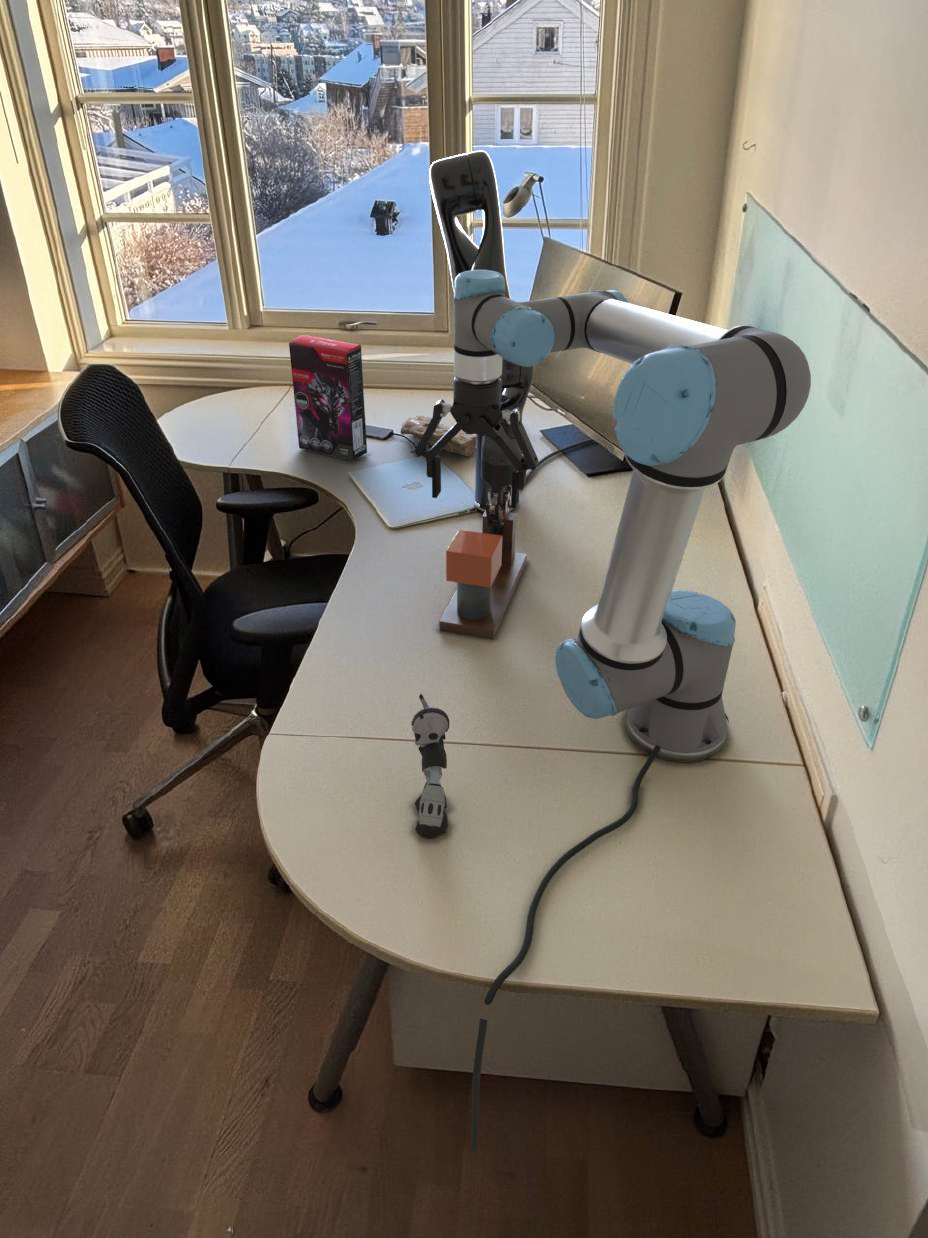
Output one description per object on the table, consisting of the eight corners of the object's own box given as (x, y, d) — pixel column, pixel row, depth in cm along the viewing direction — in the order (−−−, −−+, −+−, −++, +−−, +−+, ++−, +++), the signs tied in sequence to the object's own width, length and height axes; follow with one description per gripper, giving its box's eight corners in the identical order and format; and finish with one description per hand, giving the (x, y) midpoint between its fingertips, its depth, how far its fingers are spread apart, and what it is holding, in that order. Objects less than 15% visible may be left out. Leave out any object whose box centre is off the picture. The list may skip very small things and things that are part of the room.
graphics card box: (296, 449, 231) (285, 340, 216) (313, 439, 236) (303, 333, 221) (353, 463, 224) (346, 352, 209) (369, 453, 229) (363, 343, 214)
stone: (384, 439, 228) (389, 416, 226) (404, 431, 242) (409, 408, 239) (464, 464, 225) (469, 440, 222) (479, 454, 238) (485, 431, 236)
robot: (452, 871, 119) (452, 756, 108) (414, 872, 119) (410, 757, 108) (447, 767, 136) (446, 657, 124) (413, 768, 135) (410, 658, 124)
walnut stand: (493, 639, 163) (495, 581, 157) (439, 630, 165) (438, 573, 159) (526, 562, 186) (529, 508, 179) (478, 555, 188) (479, 502, 181)
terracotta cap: (490, 587, 159) (491, 557, 155) (446, 581, 160) (446, 551, 157) (501, 564, 165) (502, 535, 162) (458, 558, 167) (458, 529, 163)
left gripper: (512, 473, 164) (509, 557, 173) (529, 443, 175) (525, 523, 184) (472, 468, 165) (470, 552, 175) (491, 438, 176) (488, 518, 186)
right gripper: (561, 376, 143) (552, 499, 155) (408, 360, 149) (411, 480, 161) (552, 392, 137) (543, 519, 149) (393, 376, 143) (397, 499, 155)
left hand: (498, 537), depth 180 cm, fingers closed on walnut stand, 3 cm apart
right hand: (475, 499), depth 155 cm, fingers open, 13 cm apart
